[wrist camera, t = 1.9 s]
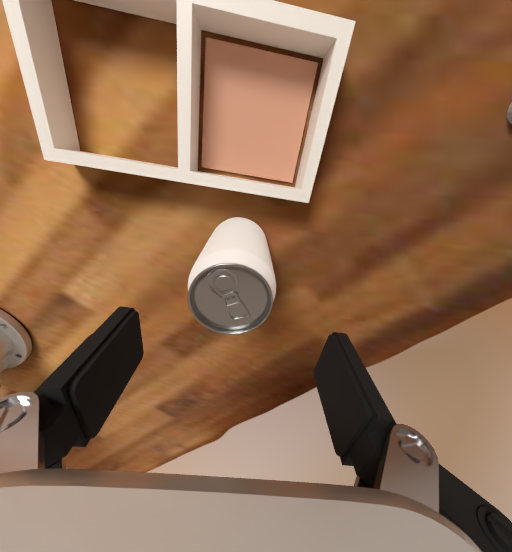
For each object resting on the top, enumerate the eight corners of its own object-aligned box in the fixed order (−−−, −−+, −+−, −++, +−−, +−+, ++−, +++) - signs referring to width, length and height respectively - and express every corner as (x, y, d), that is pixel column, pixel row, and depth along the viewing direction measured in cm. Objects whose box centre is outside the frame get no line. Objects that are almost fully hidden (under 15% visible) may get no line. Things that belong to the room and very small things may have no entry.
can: (256, 207, 23) (262, 242, 12) (273, 260, 25) (290, 325, 15) (201, 227, 23) (161, 276, 13) (224, 275, 26) (206, 348, 16)
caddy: (301, 199, 22) (308, 203, 20) (71, 161, 20) (44, 159, 18) (338, 44, 17) (355, 21, 14) (31, -30, 15) (-18, -74, 12)
